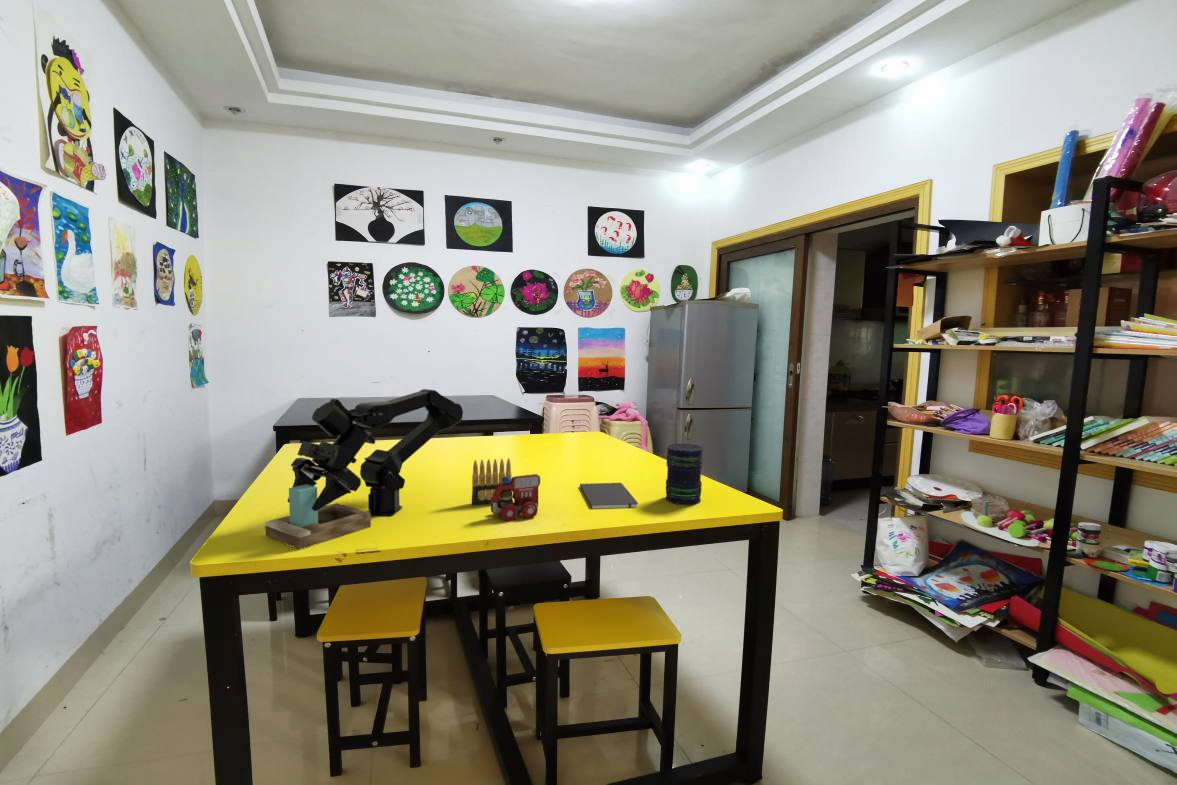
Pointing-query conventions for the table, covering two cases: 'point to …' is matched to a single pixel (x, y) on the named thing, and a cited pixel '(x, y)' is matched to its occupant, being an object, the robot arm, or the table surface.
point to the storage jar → (684, 474)
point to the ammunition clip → (487, 481)
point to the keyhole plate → (319, 526)
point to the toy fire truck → (516, 497)
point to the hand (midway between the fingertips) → (301, 506)
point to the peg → (302, 505)
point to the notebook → (608, 495)
